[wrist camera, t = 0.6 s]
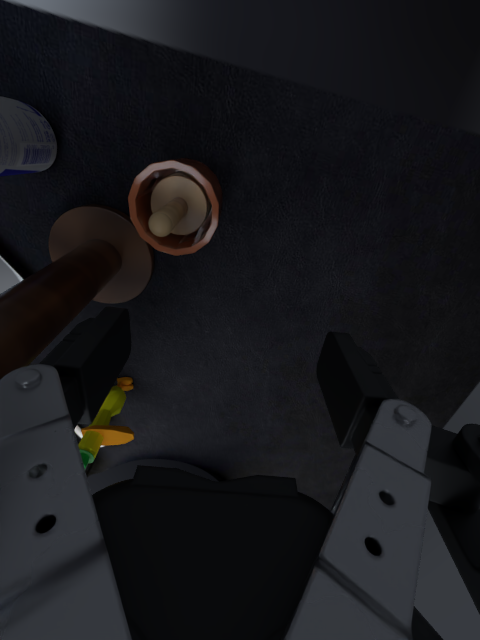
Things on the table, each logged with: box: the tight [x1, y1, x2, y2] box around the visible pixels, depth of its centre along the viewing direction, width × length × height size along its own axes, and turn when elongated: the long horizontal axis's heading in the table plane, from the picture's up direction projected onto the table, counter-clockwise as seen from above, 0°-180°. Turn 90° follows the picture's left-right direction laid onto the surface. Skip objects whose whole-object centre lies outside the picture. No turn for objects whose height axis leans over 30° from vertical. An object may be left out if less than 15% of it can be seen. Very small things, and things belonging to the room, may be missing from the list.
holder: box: [128, 158, 223, 256], centre depth 24 cm, size 6×6×8 cm
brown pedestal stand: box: [0, 204, 155, 380], centre depth 19 cm, size 13×13×25 cm
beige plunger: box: [148, 171, 212, 237], centre depth 22 cm, size 5×5×12 cm
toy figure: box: [78, 377, 134, 468], centre depth 34 cm, size 7×4×12 cm, turn 87°
